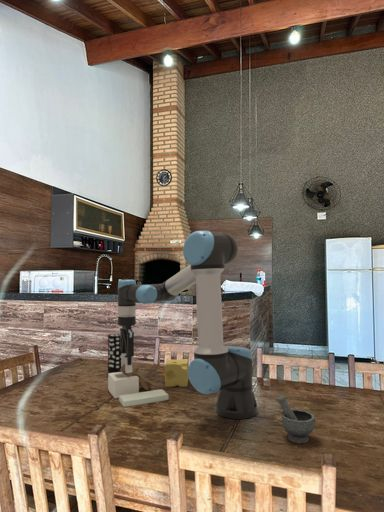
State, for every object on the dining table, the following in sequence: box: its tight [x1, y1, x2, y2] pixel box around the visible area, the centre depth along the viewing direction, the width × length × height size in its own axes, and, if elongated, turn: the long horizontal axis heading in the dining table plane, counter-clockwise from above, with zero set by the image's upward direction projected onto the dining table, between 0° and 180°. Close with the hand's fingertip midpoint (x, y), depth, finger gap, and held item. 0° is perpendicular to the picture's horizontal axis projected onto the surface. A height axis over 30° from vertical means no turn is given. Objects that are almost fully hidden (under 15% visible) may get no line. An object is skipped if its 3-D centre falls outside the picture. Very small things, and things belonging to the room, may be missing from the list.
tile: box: [120, 364, 152, 391], centre depth 157 cm, size 14×5×3 cm
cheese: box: [164, 358, 189, 388], centre depth 166 cm, size 10×11×10 cm
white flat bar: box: [118, 388, 169, 408], centre depth 144 cm, size 8×18×2 cm, turn 115°
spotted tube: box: [107, 332, 122, 374], centre depth 178 cm, size 8×8×20 cm
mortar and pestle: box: [276, 395, 316, 444], centre depth 111 cm, size 11×9×12 cm
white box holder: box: [107, 372, 140, 399], centre depth 154 cm, size 10×12×7 cm
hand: (126, 370), depth 155 cm, fingers open, 6 cm apart
